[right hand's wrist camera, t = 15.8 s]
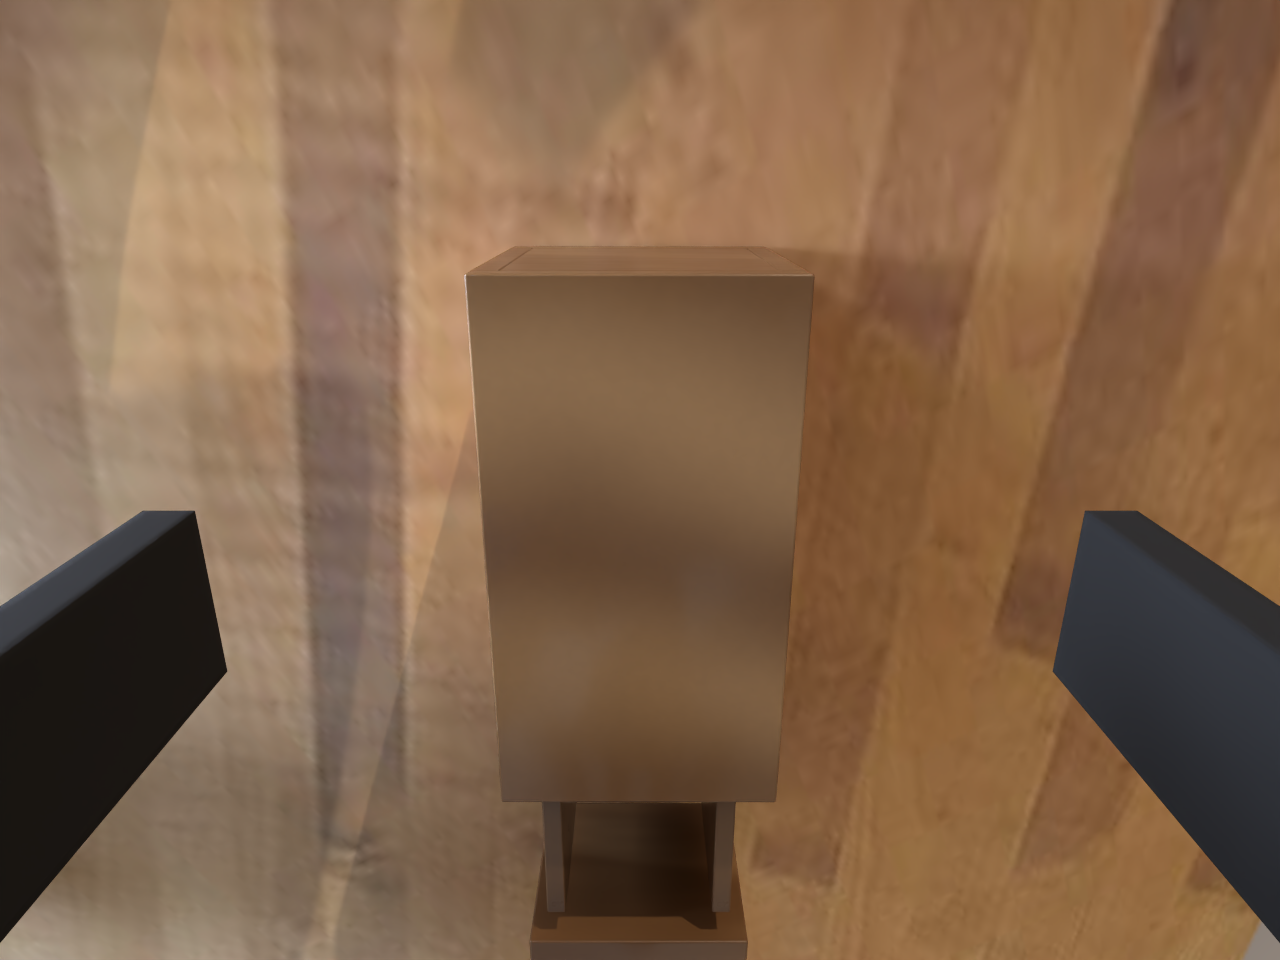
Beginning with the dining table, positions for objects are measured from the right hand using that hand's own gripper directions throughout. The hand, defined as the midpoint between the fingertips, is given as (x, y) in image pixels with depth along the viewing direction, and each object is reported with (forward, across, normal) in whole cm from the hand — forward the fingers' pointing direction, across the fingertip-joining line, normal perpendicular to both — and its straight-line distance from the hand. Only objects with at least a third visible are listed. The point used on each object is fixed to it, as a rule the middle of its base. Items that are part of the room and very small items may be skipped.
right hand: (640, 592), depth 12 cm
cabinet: (+26, 0, -7) cm, 26 cm away
